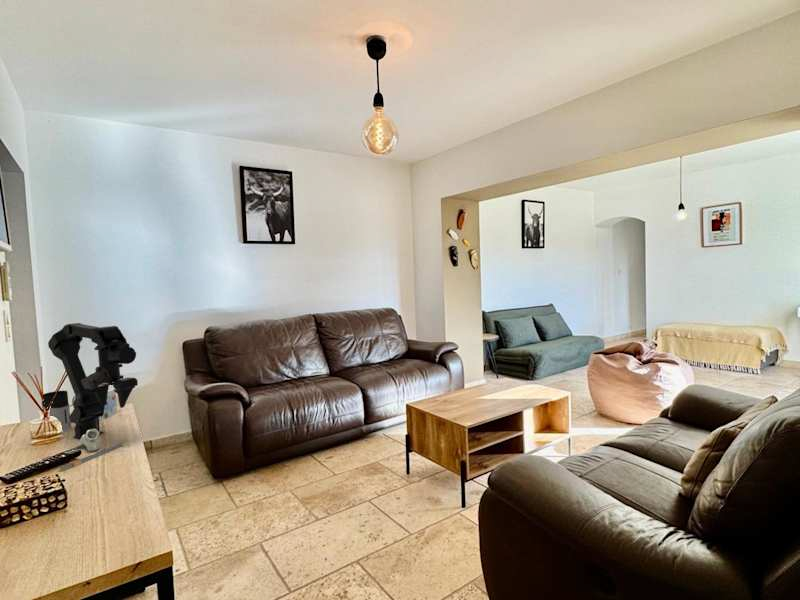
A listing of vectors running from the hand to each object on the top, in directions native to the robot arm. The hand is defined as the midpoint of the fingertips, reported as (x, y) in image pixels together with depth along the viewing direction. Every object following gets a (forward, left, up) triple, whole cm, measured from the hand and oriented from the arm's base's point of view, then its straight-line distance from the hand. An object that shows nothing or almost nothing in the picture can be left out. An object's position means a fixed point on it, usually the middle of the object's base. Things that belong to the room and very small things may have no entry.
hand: (112, 406), depth 143 cm
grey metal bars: (+13, +1, -12) cm, 18 cm away
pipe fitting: (+8, +1, -13) cm, 15 cm away
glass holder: (-4, -29, -12) cm, 32 cm away
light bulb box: (-19, -31, -12) cm, 38 cm away
